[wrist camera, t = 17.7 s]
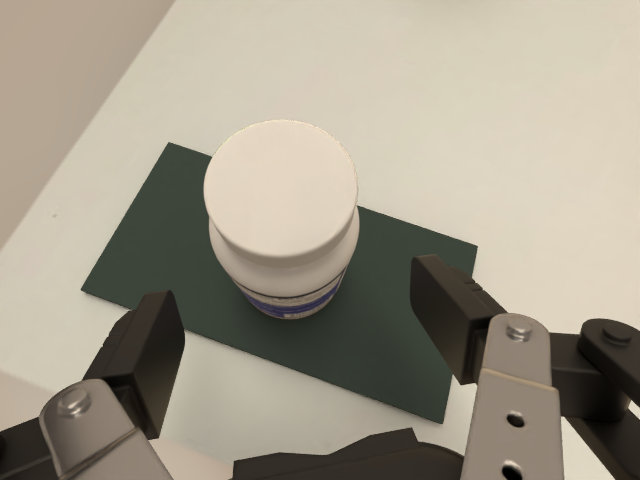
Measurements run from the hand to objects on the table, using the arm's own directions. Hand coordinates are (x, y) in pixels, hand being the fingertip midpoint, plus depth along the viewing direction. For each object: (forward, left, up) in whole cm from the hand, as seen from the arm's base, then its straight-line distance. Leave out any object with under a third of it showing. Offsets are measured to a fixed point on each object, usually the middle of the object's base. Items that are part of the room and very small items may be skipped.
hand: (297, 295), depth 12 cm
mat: (-3, +2, -8) cm, 8 cm away
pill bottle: (-2, +2, -8) cm, 8 cm away
